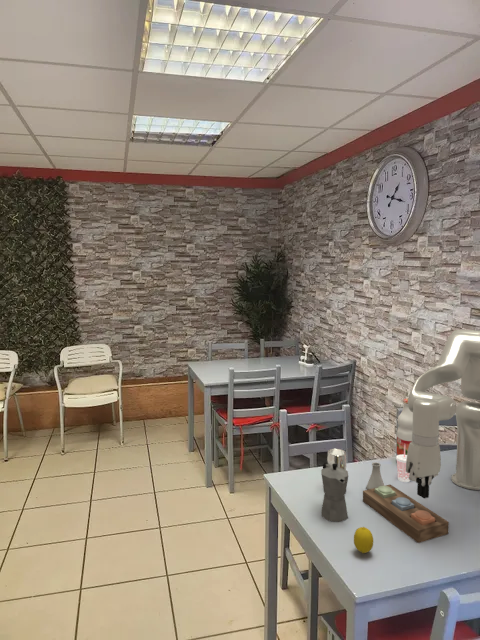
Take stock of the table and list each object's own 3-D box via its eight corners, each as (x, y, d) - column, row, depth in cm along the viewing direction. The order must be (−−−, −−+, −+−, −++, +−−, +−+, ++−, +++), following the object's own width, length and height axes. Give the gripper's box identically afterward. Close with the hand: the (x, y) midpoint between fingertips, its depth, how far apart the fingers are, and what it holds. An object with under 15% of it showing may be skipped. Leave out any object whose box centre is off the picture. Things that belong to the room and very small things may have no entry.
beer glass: (325, 493, 169) (325, 454, 167) (329, 484, 175) (329, 447, 173) (344, 496, 166) (344, 457, 164) (347, 487, 172) (347, 449, 171)
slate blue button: (403, 504, 155) (403, 495, 155) (414, 511, 150) (414, 502, 150) (391, 507, 153) (391, 498, 153) (402, 514, 149) (402, 505, 148)
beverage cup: (413, 478, 179) (414, 444, 178) (410, 484, 174) (411, 449, 173) (397, 474, 183) (398, 441, 181) (393, 480, 177) (394, 446, 176)
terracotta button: (423, 517, 147) (423, 508, 146) (435, 525, 142) (435, 516, 142) (410, 521, 145) (411, 511, 144) (422, 529, 140) (422, 519, 140)
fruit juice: (424, 468, 188) (426, 402, 185) (403, 470, 186) (405, 403, 183) (412, 459, 197) (414, 396, 194) (392, 461, 195) (393, 397, 192)
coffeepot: (356, 523, 148) (357, 470, 146) (329, 527, 146) (329, 474, 144) (336, 500, 163) (336, 452, 161) (311, 503, 161) (311, 455, 159)
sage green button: (385, 492, 163) (386, 484, 163) (395, 499, 159) (395, 490, 158) (374, 495, 161) (374, 487, 161) (383, 501, 157) (383, 493, 156)
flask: (386, 494, 167) (387, 468, 166) (366, 493, 168) (366, 467, 167) (384, 485, 174) (385, 460, 173) (365, 484, 175) (365, 459, 174)
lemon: (351, 548, 136) (351, 522, 135) (369, 546, 136) (369, 521, 135) (357, 559, 130) (357, 533, 129) (376, 558, 131) (376, 532, 130)
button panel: (389, 494, 167) (390, 484, 166) (448, 534, 142) (448, 521, 141) (362, 501, 162) (362, 490, 162) (418, 543, 137) (418, 530, 137)
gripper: (434, 432, 146) (432, 486, 148) (397, 438, 141) (395, 495, 143) (453, 439, 139) (450, 497, 141) (414, 446, 134) (412, 506, 136)
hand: (422, 496), depth 142 cm, fingers closed
